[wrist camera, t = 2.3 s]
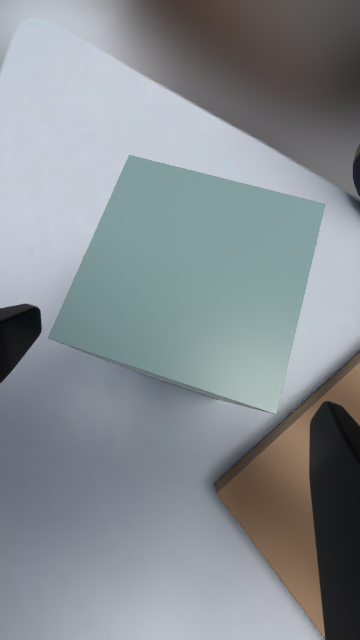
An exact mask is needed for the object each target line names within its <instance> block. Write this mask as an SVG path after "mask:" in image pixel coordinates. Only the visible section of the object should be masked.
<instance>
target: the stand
mask: <svg viewBox="0 0 360 640" xmlns="http://www.w3.org/2000/svg"><path fill="white" fill-rule="evenodd" d="M327 400H328V401H331V402H334V403H338V404H340V405H342V406H343V407H344V409H345V410H346V411H347V412H348V413H349V414H350V415H351V416H352V418H353V419H354V420H355V421H356V422H357V423H358V424H359V425H360V352H359V353H358V354H356V355H355V356H354V357H353V358H352V359H351V360H350V361H349V362H348V363H347V364H345V365H344V366H343V367H342V368H341V369H340V370H339V371H338V372H337V373H336V374H334V375H333V376H332V377H331V378H330V379H329V380H328V381H327V382H326V383H324V384H323V385H322V386H321V387H320V388H319V389H318V390H317V391H316V392H315V393H313V394H312V395H311V396H310V397H309V398H308V399H307V400H306V401H305V402H304V403H302V404H301V405H300V406H299V407H298V408H297V409H296V410H295V411H294V412H293V413H291V414H290V415H289V416H288V417H287V418H286V419H285V420H284V421H283V422H282V423H280V424H279V425H278V426H277V427H276V428H275V429H274V430H273V431H272V432H271V433H269V434H268V435H267V436H266V437H265V438H264V439H263V440H262V441H261V442H260V443H258V444H257V445H256V446H255V447H254V448H253V449H252V450H251V451H250V452H249V453H247V454H246V455H245V456H244V457H243V458H242V459H241V460H240V461H239V462H238V463H236V464H235V465H234V466H233V467H232V468H231V469H230V470H229V471H228V472H227V473H225V474H224V475H223V476H222V477H221V478H220V479H219V480H218V481H217V482H216V483H214V486H215V490H216V493H217V495H218V496H219V497H220V499H221V500H222V501H223V503H224V504H225V505H226V507H227V508H228V509H229V511H230V512H231V514H232V515H233V516H234V518H235V519H236V520H237V522H238V523H239V524H240V526H241V527H242V528H243V530H244V531H245V532H246V534H247V535H248V536H249V538H250V539H251V540H252V542H253V543H254V544H255V546H256V547H257V548H258V550H259V551H260V552H261V554H262V555H263V556H264V558H265V559H266V560H267V562H268V563H269V564H270V566H271V567H272V568H273V570H274V571H275V572H276V574H277V575H278V577H279V578H280V579H281V581H282V582H283V583H284V585H285V586H286V587H287V589H288V590H289V591H290V593H291V594H292V595H293V597H294V598H295V599H296V601H297V602H298V603H299V605H300V606H301V607H302V609H303V610H304V611H305V613H306V614H307V615H308V617H309V618H310V619H311V621H312V622H313V623H314V625H315V626H316V627H317V629H318V630H319V631H320V633H321V634H322V635H323V637H324V638H325V632H324V622H323V612H322V602H321V592H320V582H319V572H318V562H317V552H316V542H315V532H314V522H313V512H312V502H311V492H310V481H309V441H310V422H311V419H312V417H313V416H314V414H315V413H316V411H317V410H318V408H319V407H320V406H321V404H322V403H323V402H324V401H327Z"/></svg>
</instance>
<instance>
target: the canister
mask: <svg viewBox="0 0 360 640" xmlns="http://www.w3.org/2000/svg"><path fill="white" fill-rule="evenodd" d="M353 180H354V184H355V187H356V190H357V192H358V194H359V196H360V145H359V147H358V149H357V152H356V155H355V158H354V162H353Z"/></svg>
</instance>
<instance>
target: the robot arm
mask: <svg viewBox="0 0 360 640" xmlns="http://www.w3.org/2000/svg"><path fill="white" fill-rule="evenodd" d="M41 330H42V326H41V313H40V309H39V308H38V307H36V306H33V305H30V304H21V305H16V306H11V307H6V308H0V383H1V382H2V381H3V380H4V379H5V378H6V377H7V376H8V375H9V373H10V372H11V371H12V370H13V369H14V368H15V366H16V365H17V364H18V363H19V361H20V360H21V359H22V357H23V356H24V355H25V354H26V352H27V351H28V350H29V348H30V347H31V346H32V344H33V343H34V342H35V341H36V339H37V338H38V337H39V335H40V333H41ZM309 481H310V492H311V502H312V512H313V522H314V532H315V542H316V552H317V562H318V572H319V582H320V592H321V602H322V612H323V622H324V632H325V640H360V425H359V424H358V423H357V422H356V421H355V420H354V419H353V418H352V416H351V415H350V414H349V413H348V412H347V411H346V410H345V409H344V407H343V406H342V405H340V404H338V403H334V402H331V401H328V400H327V401H324V402H323V403H322V404H321V406H320V407H319V408H318V410H317V411H316V413H315V414H314V416H313V417H312V419H311V422H310V441H309Z"/></svg>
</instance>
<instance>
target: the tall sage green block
mask: <svg viewBox="0 0 360 640" xmlns="http://www.w3.org/2000/svg"><path fill="white" fill-rule="evenodd" d="M324 207H325V204H323V203H319V202H315V201H311V200H307V199H303V198H299V197H295V196H291V195H287V194H283V193H279V192H275V191H271V190H267V189H263V188H259V187H255V186H251V185H247V184H243V183H239V182H235V181H231V180H227V179H223V178H219V177H215V176H211V175H207V174H203V173H199V172H195V171H191V170H187V169H183V168H179V167H175V166H171V165H167V164H163V163H159V162H155V161H151V160H147V159H143V158H139V157H135V156H131V155H129V157H128V159H127V161H126V163H125V166H124V168H123V170H122V172H121V175H120V177H119V179H118V181H117V184H116V186H115V188H114V190H113V193H112V195H111V197H110V199H109V202H108V204H107V206H106V208H105V211H104V213H103V215H102V217H101V220H100V222H99V224H98V227H97V229H96V231H95V233H94V236H93V238H92V240H91V242H90V245H89V247H88V249H87V251H86V254H85V256H84V258H83V260H82V263H81V265H80V267H79V269H78V272H77V274H76V276H75V278H74V281H73V283H72V285H71V287H70V290H69V292H68V294H67V296H66V299H65V301H64V303H63V305H62V308H61V310H60V312H59V315H58V317H57V319H56V321H55V324H54V326H53V328H52V330H51V333H50V335H49V337H48V338H49V339H51V340H54V341H57V342H59V343H62V344H64V345H67V346H70V347H72V348H75V349H77V350H80V351H83V352H85V353H88V354H90V355H93V356H96V357H98V358H101V359H103V360H106V361H109V362H111V363H114V364H117V365H119V366H122V367H124V368H127V369H130V370H132V371H135V372H137V373H140V374H143V375H146V376H149V377H152V378H155V379H158V380H161V381H164V382H167V383H170V384H173V385H176V386H179V387H182V388H185V389H188V390H191V391H194V392H197V393H200V394H203V395H206V396H209V397H212V398H215V399H218V400H222V401H226V402H230V403H234V404H238V405H242V406H246V407H250V408H254V409H257V410H261V411H265V412H269V413H273V414H276V413H277V409H278V405H279V400H280V396H281V392H282V388H283V383H284V379H285V375H286V370H287V366H288V362H289V358H290V353H291V349H292V345H293V340H294V336H295V332H296V328H297V323H298V319H299V315H300V310H301V306H302V302H303V297H304V293H305V289H306V285H307V280H308V276H309V272H310V267H311V263H312V259H313V255H314V250H315V246H316V242H317V237H318V233H319V229H320V225H321V220H322V216H323V212H324Z"/></svg>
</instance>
